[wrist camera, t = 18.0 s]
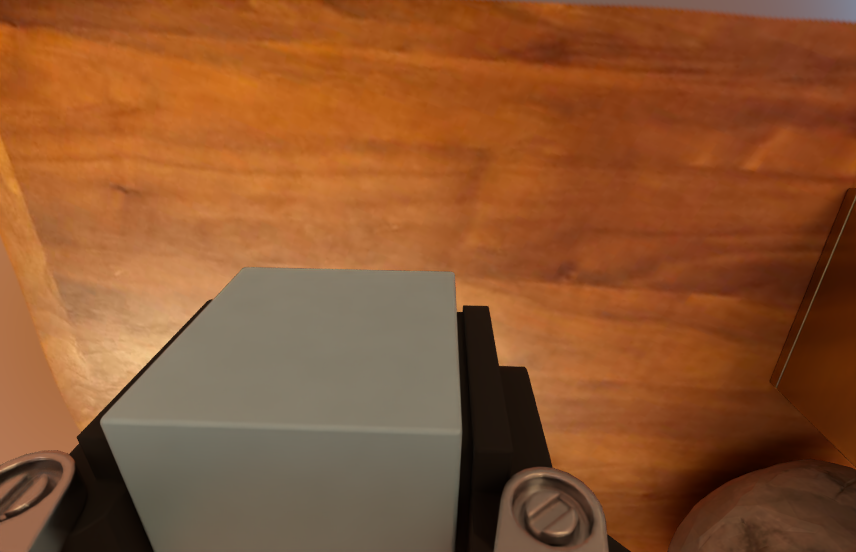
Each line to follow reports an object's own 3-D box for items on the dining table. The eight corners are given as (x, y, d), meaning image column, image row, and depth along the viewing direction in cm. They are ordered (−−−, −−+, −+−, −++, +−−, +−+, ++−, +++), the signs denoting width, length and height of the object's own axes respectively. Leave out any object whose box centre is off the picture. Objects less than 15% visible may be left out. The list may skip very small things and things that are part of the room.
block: (243, 265, 9) (95, 420, 5) (454, 270, 9) (462, 432, 5) (273, 424, 11) (181, 623, 7) (448, 430, 11) (450, 635, 7)
